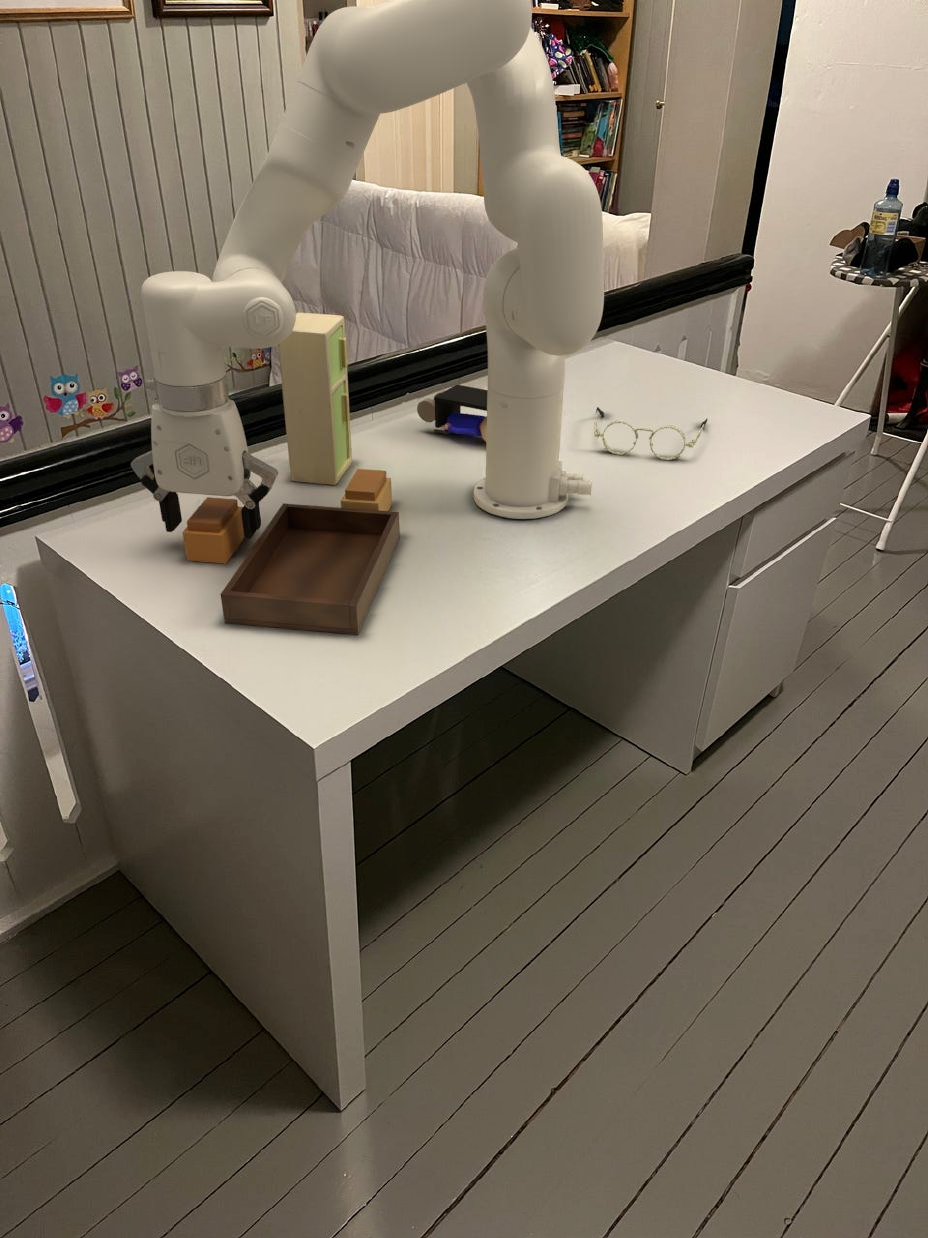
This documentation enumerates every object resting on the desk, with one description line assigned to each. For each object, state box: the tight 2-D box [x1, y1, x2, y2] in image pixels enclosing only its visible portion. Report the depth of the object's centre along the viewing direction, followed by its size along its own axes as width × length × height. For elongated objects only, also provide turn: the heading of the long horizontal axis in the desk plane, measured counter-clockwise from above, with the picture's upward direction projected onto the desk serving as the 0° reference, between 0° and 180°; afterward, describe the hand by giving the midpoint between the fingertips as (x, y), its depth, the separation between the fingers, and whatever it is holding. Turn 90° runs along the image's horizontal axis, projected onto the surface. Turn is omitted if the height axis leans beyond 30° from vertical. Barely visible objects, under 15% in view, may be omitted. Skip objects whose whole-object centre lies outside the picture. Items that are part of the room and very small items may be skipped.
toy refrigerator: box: [277, 312, 353, 486], centre depth 127 cm, size 8×7×21 cm
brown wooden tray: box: [219, 502, 401, 635], centre depth 108 cm, size 15×22×4 cm
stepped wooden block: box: [340, 468, 393, 511], centre depth 120 cm, size 5×8×5 cm, turn 172°
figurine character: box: [416, 384, 488, 442], centre depth 142 cm, size 7×8×15 cm
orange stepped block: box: [182, 496, 246, 565], centre depth 113 cm, size 5×8×5 cm, turn 172°
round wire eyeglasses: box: [593, 406, 708, 461], centre depth 142 cm, size 17×15×5 cm
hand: (212, 530), depth 113 cm, fingers open, 9 cm apart
